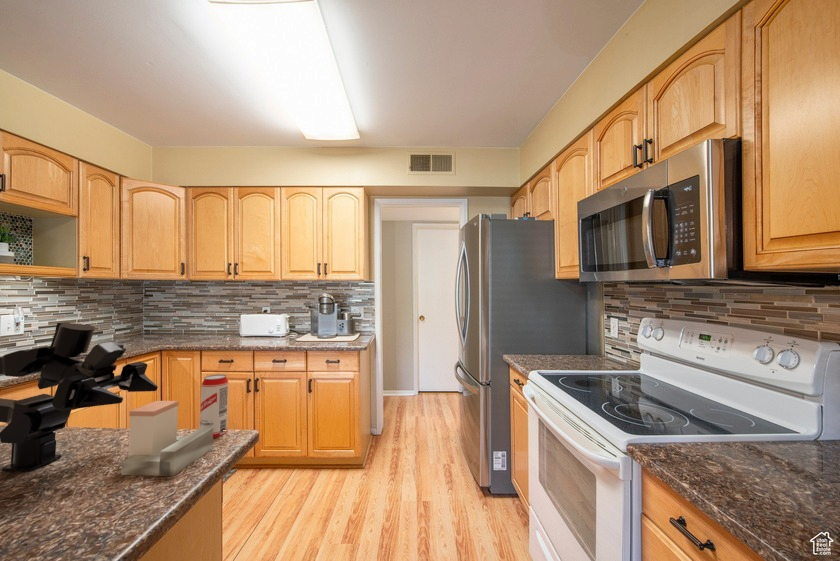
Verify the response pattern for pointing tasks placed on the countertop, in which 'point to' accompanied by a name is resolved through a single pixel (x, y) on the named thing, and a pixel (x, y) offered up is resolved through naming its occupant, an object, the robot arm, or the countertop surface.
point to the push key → (153, 428)
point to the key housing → (171, 455)
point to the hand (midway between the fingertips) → (140, 394)
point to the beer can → (214, 404)
